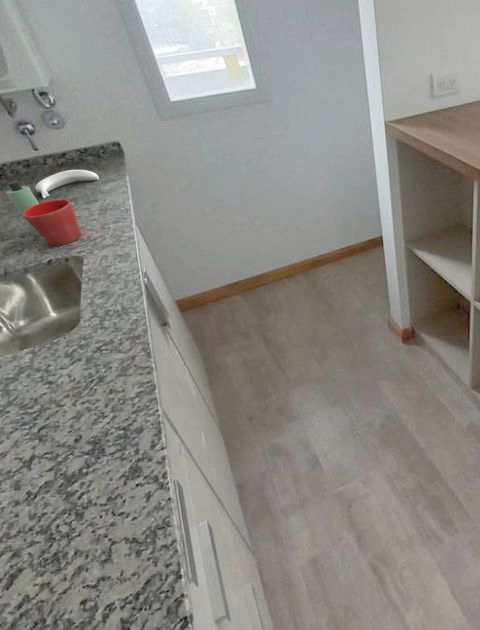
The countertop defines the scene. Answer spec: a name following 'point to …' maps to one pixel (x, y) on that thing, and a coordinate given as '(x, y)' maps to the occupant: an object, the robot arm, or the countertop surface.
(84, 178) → the banana
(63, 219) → the flower pot
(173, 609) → the countertop surface
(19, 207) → the soap bottle
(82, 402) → the countertop surface
